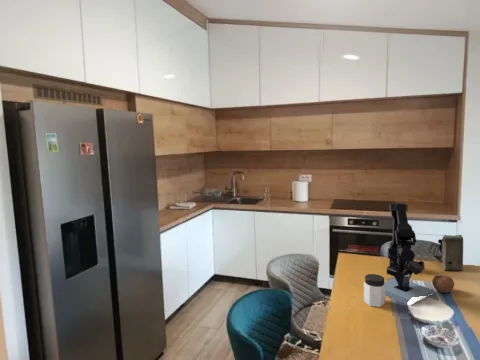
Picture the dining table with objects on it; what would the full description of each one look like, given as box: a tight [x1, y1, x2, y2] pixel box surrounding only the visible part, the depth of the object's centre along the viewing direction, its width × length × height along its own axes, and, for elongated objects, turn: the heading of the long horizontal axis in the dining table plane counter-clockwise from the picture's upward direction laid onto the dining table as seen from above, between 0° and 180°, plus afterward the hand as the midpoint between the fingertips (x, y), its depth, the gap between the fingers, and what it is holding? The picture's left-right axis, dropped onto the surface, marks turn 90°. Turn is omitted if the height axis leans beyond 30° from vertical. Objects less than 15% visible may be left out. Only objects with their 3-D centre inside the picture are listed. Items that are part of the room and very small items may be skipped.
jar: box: [363, 273, 386, 308], centre depth 153 cm, size 9×8×12 cm
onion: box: [431, 273, 455, 294], centre depth 161 cm, size 9×9×10 cm
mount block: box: [384, 277, 434, 305], centre depth 162 cm, size 18×18×2 cm
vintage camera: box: [433, 234, 464, 272], centre depth 190 cm, size 10×16×20 cm, turn 174°
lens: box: [398, 271, 410, 292], centre depth 161 cm, size 5×5×9 cm
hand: (403, 285), depth 161 cm, fingers closed on lens, 5 cm apart
